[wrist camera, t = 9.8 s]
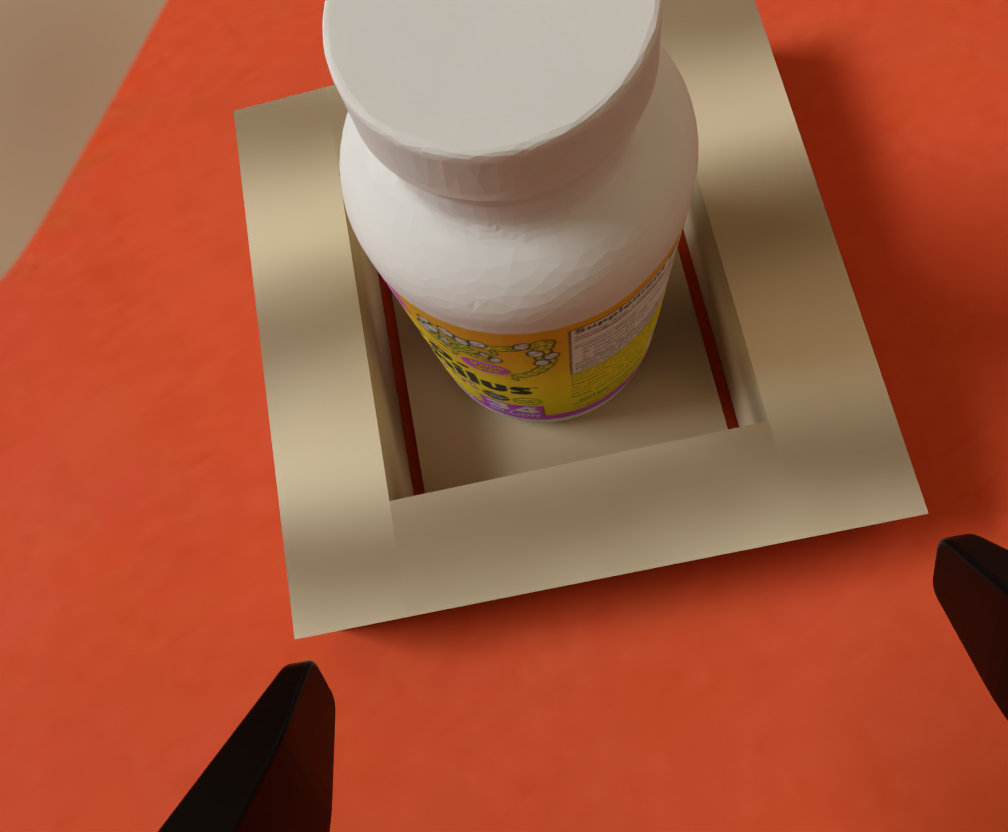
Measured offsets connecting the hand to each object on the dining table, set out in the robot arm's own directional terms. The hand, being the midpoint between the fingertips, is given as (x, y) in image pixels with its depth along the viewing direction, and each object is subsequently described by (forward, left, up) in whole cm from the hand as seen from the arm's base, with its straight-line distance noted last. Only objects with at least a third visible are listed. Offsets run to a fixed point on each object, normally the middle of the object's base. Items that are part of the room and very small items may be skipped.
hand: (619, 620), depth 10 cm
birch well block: (+7, -5, -10) cm, 13 cm away
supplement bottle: (+7, -5, -10) cm, 13 cm away
